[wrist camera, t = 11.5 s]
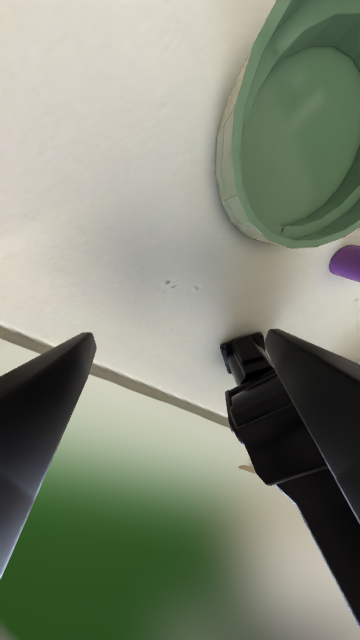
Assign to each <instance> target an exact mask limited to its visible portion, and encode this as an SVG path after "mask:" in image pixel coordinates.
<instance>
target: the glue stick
mask: <svg viewBox="0 0 360 640" xmlns="http://www.w3.org/2000/svg"><path fill="white" fill-rule="evenodd" d="M329 268H330V271H331V272H332V273H333V274H336V275H339V276H342V277H345V278H348V279H351V280H354V281H357V282H360V246H355V245H349V246H346V247H343V248H342V249H340V250H339V251H338V252H337V253H336V254H335V255H334V256H333V257H332V259H331V261H330V265H329Z"/></svg>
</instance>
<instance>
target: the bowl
mask: <svg viewBox="0 0 360 640" xmlns="http://www.w3.org/2000/svg"><path fill="white" fill-rule="evenodd" d="M215 172H216V173H215V174H216V180H217V185H218V190H219V195H220V200H221V203H222V205H223V207H224V209H225V211H226V212H227V214H228V216H229V218H230V220H231V222H232V223H233V224H234V225H235V226H236V227H237V228H238V229H240V230H241V231H242V232H243V233H244V234H245V235H246V236H248V237H250V238H253V239H256V240H259V241H262V242H265V243H269V244H274V245H278V246H283V247H287V248H309V247H318V246H320V245H323V244H326V243H329V242H332V241H334V240H337V239H340V238H343V237H345V236H346V235H348V234H349V233H351V232H352V231H354V230H356V229H357V228H359V227H360V0H277V1H276V3H275V5H274V7H273V8H272V10H271V12H270V14H269V16H268V18H267V20H266V22H265V24H264V25H263V27H262V29H261V31H260V33H259V35H258V37H257V39H256V41H255V42H254V44H253V46H252V49H251V51H250V53H249V55H248V57H247V59H246V61H245V63H244V65H243V67H242V70H241V72H240V74H239V76H238V78H237V80H236V82H235V84H234V87H233V89H232V91H231V93H230V95H229V98H228V100H227V104H226V107H225V111H224V115H223V118H222V122H221V125H220V129H219V132H218V137H217V148H216V166H215Z"/></svg>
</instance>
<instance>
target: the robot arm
mask: <svg viewBox="0 0 360 640" xmlns="http://www.w3.org/2000/svg"><path fill="white" fill-rule="evenodd" d="M259 336H260V337H259ZM223 347H224V348H223ZM265 348H266V350H267V352H268V355H269V356H268V355H267V354H266V352H265ZM220 349H221V352H222V355H223V359H224V362H225V365H226V368H227V371H228V373H229V374H231V373H232V374H233V377H234V379H235V381H236V384H237V387H235V388H233V389H231V390H228V391H226V392H225V395H226V405H227V412H228V420H229V424H230V428H231V431H232V432H233V433H235V435H236V437H237V438H238V440H239V441H240V442H241V444H243V445H244V446H245V447H246V449H247V452H248V454H249V456H250V459H251V461H252V464H253V466H254V469H255V471H256V473H257V475H258V476H259V477H260V478H261V479H262V480H263V482H264V483H265V484H266V485H268V486H272V485H275V486H276V487H277V488H278V489H279V490H280V491H281V492H282V493H284V494H285V495H286V496H287V497H288V498H289V499H290V500H291V501H292V502H293V503H294V504H295V505H296V506H297V508H298V510H299V512H300V514H301V516H302V517H303V519H304V521H305V523H306V525H307V527H308V529H309V531H310V533H311V535H312V537H313V539H314V541H315V542H316V545H317V546H318V549H319V550H320V552H321V554H322V556H323V558H324V560H325V562H326V564H327V566H328V568H329V570H330V572H331V574H332V576H333V578H334V579H335V581H336V583H337V585H338V587H339V589H340V591H341V593H342V595H343V597H344V599H345V601H346V603H347V605H348V607H349V609H350V611H351V612H352V614H353V616H354V618H355V620H356V622H357V624H358V626H359V628H360V365H359V364H357V363H355V362H353V361H350V360H348V359H346V358H343V357H341V356H339V355H337V354H334V353H332V352H330V351H327V350H325V349H323V348H321V347H318V346H316V345H314V344H312V343H309V342H307V341H305V340H302V339H300V338H298V337H296V336H293V335H291V334H289V333H286V332H284V331H282V330H280V329H270V330H269V331H268V333H267V336H266V339H265V343H264V336H263V334H262V333H257V334H253V335H250V336H247V337H244V338H240V339H237V340H234V341H231V342H228V343H224V344H222V345H220ZM95 352H96V343H95V340H94V336H93V334H92V333H91V332H84V333H81V334H79V335H77V336H75V337H73V338H71V339H69V340H68V341H66V342H64V343H62V344H60V345H58V346H56V347H55V348H53V349H51V350H49V351H47V352H45V353H43V354H41V355H40V356H38V357H36V358H34V359H32V360H30V361H29V362H27V363H25V364H23V365H21V366H19V367H17V368H15V369H13V370H12V371H10V372H8V373H6V374H4V375H2V376H0V579H1V577H2V574H3V572H4V570H5V567H6V565H7V563H8V560H9V558H10V556H11V554H12V551H13V549H14V547H15V544H16V542H17V540H18V537H19V535H20V533H21V530H22V528H23V526H24V524H25V521H26V519H27V517H28V514H29V512H30V510H31V507H32V505H33V503H34V500H35V497H36V495H37V493H38V491H39V489H40V486H41V484H42V482H43V480H44V477H45V475H46V472H47V470H48V468H49V466H50V463H51V461H52V459H53V456H54V454H55V452H56V450H57V447H58V445H59V443H60V440H61V438H62V436H63V433H64V431H65V429H66V427H67V424H68V422H69V420H70V417H71V415H72V413H73V411H74V408H75V406H76V404H77V401H78V399H79V396H80V394H81V392H82V390H83V387H84V385H85V383H86V381H87V378H88V375H89V372H90V369H91V366H92V362H93V359H94V356H95ZM269 357H270V358H269Z"/></svg>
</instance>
